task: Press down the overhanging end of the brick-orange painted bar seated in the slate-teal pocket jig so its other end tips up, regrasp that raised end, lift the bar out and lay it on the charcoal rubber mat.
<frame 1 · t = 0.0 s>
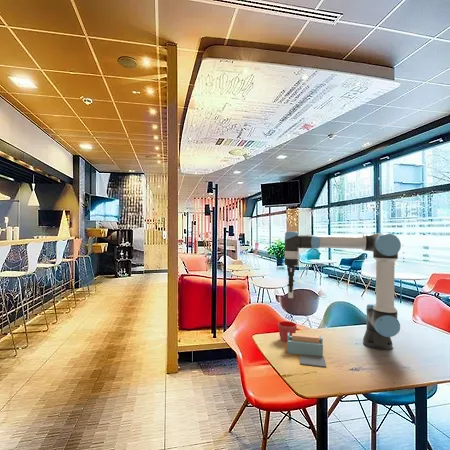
hand: (290, 295, 169), 28 cm above the table, fingers open, 13 cm apart
mat: (312, 361, 147), on the table
bar: (305, 343, 159), point 5 cm above the table, touching jig
jig: (304, 351, 159), on the table
flower pot: (287, 340, 175), on the table
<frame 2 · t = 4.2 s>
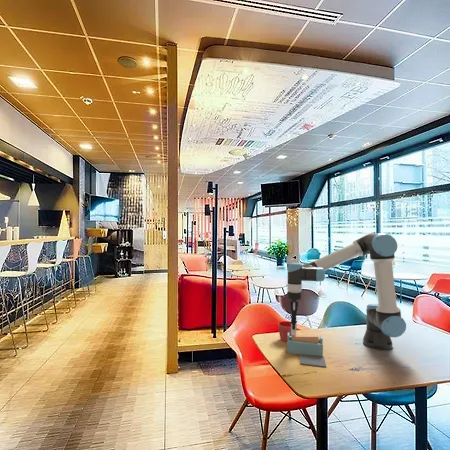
hand: (293, 334, 161), 8 cm above the table, fingers closed
bar: (305, 343, 159), point 5 cm above the table, tilted 5°, touching gripper, jig
everything else where it was.
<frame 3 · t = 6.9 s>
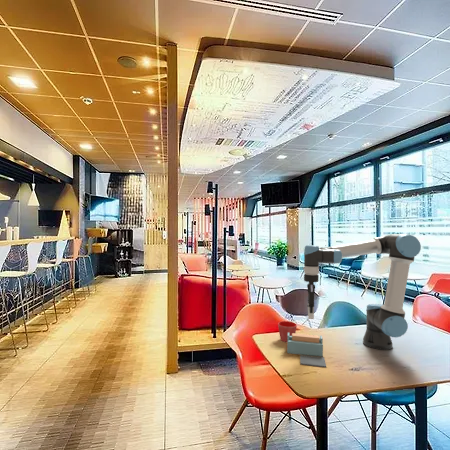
hand: (310, 317, 159), 19 cm above the table, fingers open, 4 cm apart
bar: (305, 343, 159), point 5 cm above the table, touching jig
everything else where it was.
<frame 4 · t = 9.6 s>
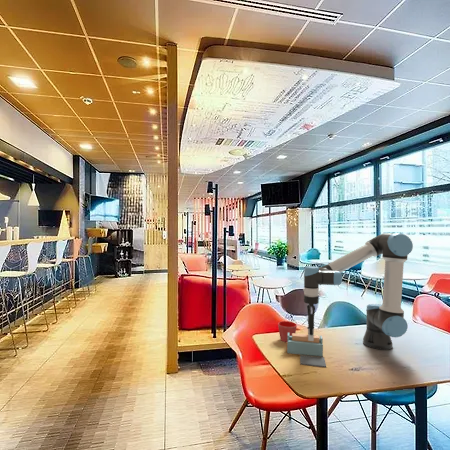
hand: (310, 339, 159), 7 cm above the table, fingers closed on bar, 4 cm apart
bar: (305, 343, 159), point 5 cm above the table, touching gripper, jig
everything else where it was.
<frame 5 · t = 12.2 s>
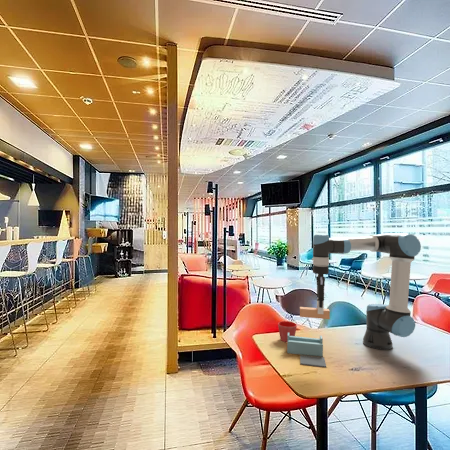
hand: (320, 312, 147), 25 cm above the table, fingers closed on bar, 4 cm apart
bar: (314, 316, 148), point 22 cm above the table, touching gripper
everything else where it was.
when the fingers open (8 cm above the table, at t = 15.0 s): bar drops 5 cm, resting on mat.
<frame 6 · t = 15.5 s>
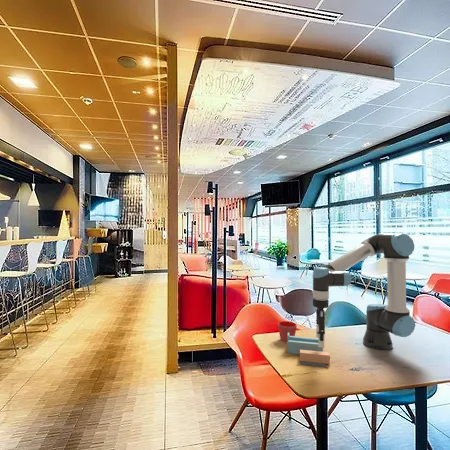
hand: (320, 342, 147), 10 cm above the table, fingers open, 12 cm apart
bar: (314, 360, 147), point 1 cm above the table, touching mat
everything else where it was.
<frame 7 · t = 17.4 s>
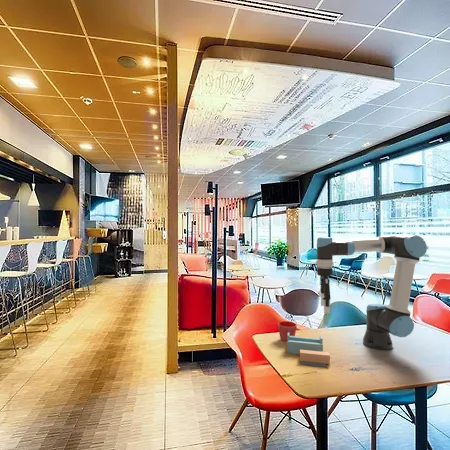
hand: (325, 309, 151), 25 cm above the table, fingers open, 13 cm apart
nothing on the table moved.
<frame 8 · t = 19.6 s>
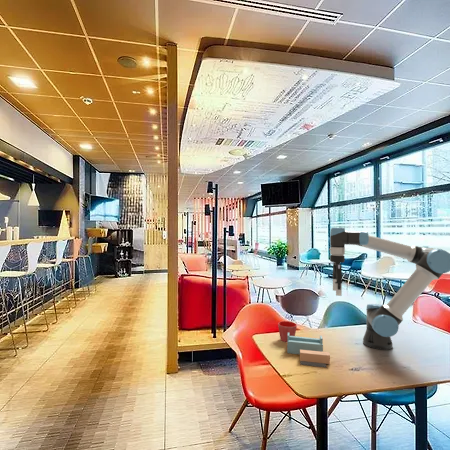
hand: (336, 293, 165), 31 cm above the table, fingers open, 13 cm apart
nothing on the table moved.
at the end: bar inside the target area on the mat (0.9 cm from its centre), point 0.6 cm above the mat's base; the gripper is holding nothing; bar moved 12.9 cm from its start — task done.
